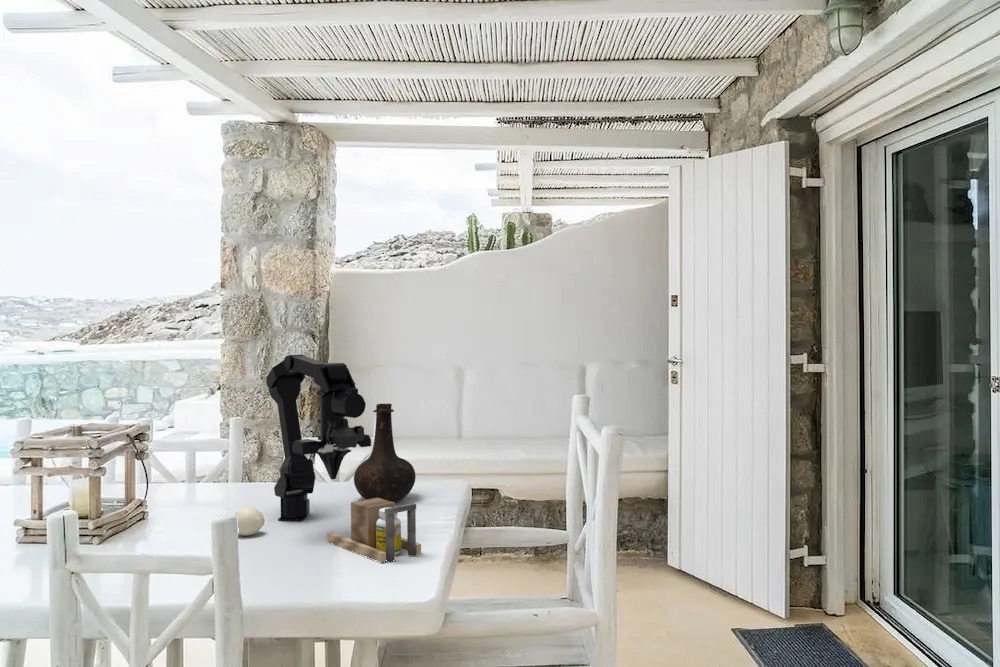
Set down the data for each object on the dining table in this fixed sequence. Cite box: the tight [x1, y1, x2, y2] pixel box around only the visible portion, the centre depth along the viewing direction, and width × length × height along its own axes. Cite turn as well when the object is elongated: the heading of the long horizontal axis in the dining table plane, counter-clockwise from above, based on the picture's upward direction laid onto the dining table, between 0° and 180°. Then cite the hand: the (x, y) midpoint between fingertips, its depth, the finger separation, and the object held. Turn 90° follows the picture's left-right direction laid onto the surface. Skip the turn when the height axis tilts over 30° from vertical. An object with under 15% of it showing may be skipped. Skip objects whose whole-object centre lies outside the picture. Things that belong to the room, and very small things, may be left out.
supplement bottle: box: [376, 507, 402, 556], centre depth 159 cm, size 5×5×10 cm
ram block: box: [350, 498, 396, 549], centre depth 164 cm, size 7×7×10 cm
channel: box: [326, 503, 422, 563], centre depth 163 cm, size 23×10×11 cm, turn 43°
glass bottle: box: [353, 403, 416, 503], centre depth 211 cm, size 18×18×28 cm
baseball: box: [234, 506, 266, 537], centre depth 175 cm, size 7×7×7 cm
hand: (333, 479), depth 176 cm, fingers closed
